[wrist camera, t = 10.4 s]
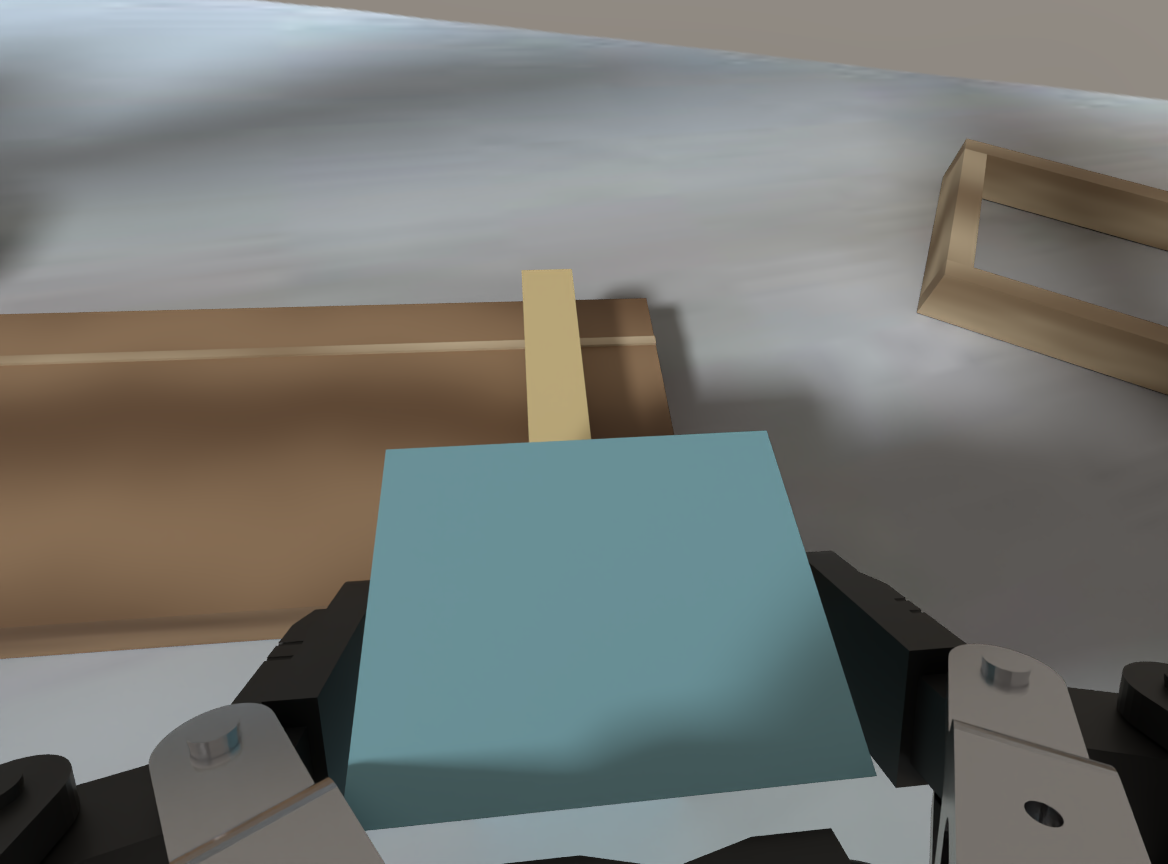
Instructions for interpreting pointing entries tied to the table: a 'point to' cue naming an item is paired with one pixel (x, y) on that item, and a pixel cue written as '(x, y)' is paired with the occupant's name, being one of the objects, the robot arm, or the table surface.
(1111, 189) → the tube rack
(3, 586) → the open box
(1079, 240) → the table surface
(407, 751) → the teal ice pop
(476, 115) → the table surface
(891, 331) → the table surface
